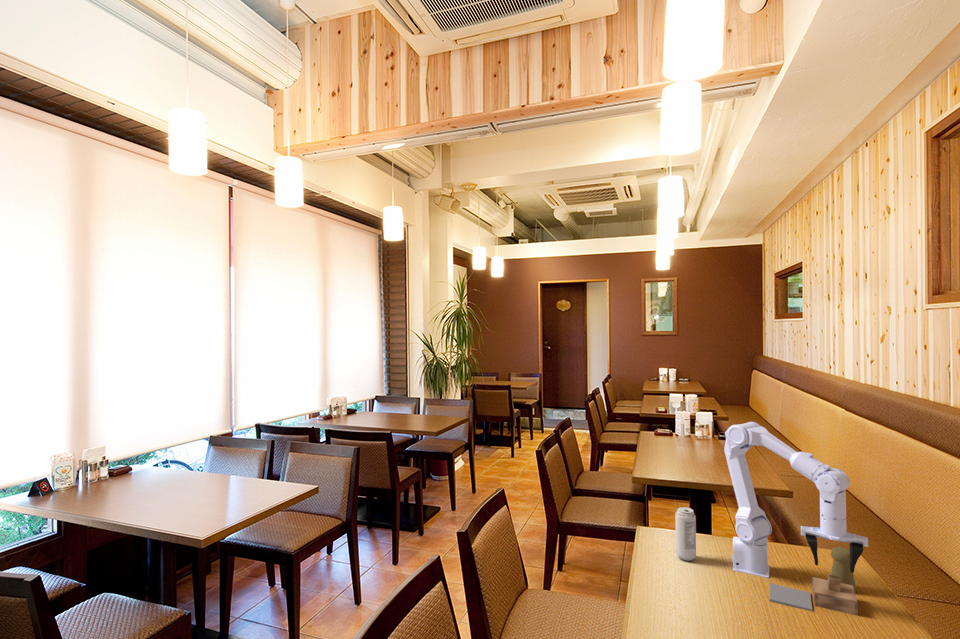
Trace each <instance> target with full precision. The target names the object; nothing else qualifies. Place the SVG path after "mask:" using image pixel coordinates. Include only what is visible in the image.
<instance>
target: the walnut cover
mask: <svg viewBox="0 0 960 639" xmlns="http://www.w3.org/2000/svg"><path fill="white" fill-rule="evenodd" d="M812 593H813V594H812V595H813V602H814V607H818V608H823V609H826V610H831V611H835V612H841V613H844V614H849V615H853V616H857V617H858V616H859V614H858V612H859V608H858V607H859V606H858V605H859V602H858V599H857V595H856V593H855V591H854V588H853V585H848V584H843V583H840V578H839V576H834V575H831V574H828V573H827V579H823V578H820V577H816V576H815V577H814V576H812Z"/></svg>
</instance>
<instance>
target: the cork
mask: <svg viewBox="0 0 960 639" xmlns="http://www.w3.org/2000/svg"><path fill="white" fill-rule="evenodd" d="M830 555H831V557H832V559H833V560H832V566H831V567H832V568H831V573H830V575H834V576H839V578H840V583H843V584H848V585H853V588H854V591H855V594H856V593H857V589H856V583H855V577H854V573H853V572H850V566H849V564H850V549H848V548H845V547H840V546H836V547H835V546H834V547H833V548H832V549H831V550H830Z"/></svg>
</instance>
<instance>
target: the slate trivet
mask: <svg viewBox="0 0 960 639" xmlns="http://www.w3.org/2000/svg"><path fill="white" fill-rule="evenodd" d="M769 602H772V603H776V604H781V605H785V606H789V607H792V608H797V609H800V610H805V611H809V612H813V604H812V598H811V592H810V591H806V590H802V589H796V588H792V587H788V586H784V585H780V584H776V583H775V584H774V583H771V582H769Z"/></svg>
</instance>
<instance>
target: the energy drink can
mask: <svg viewBox="0 0 960 639" xmlns="http://www.w3.org/2000/svg"><path fill="white" fill-rule="evenodd" d="M674 514H675V515H674V518H675V521H674V522H675V554H676V555H677V557H678V558H679V559H680V560H683V561H687V562H688V561H693V560H695V558H696V557H697V523H696V522H697V519H696V518H697V516H696V514H695V512H694V509H692V508H691V507H687V506H686V507H685V506H681V507H680V506H679V507H678V508H677V510H676V512H675V513H674Z"/></svg>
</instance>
